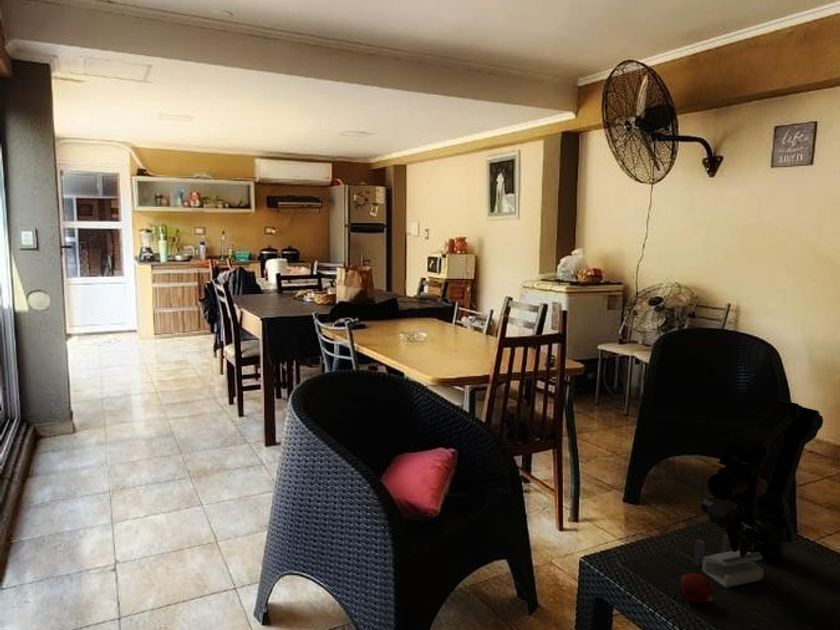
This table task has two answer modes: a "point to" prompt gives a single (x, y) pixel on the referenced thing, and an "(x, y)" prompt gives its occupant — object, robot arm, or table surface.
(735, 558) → the cover
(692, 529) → the table surface
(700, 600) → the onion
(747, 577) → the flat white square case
